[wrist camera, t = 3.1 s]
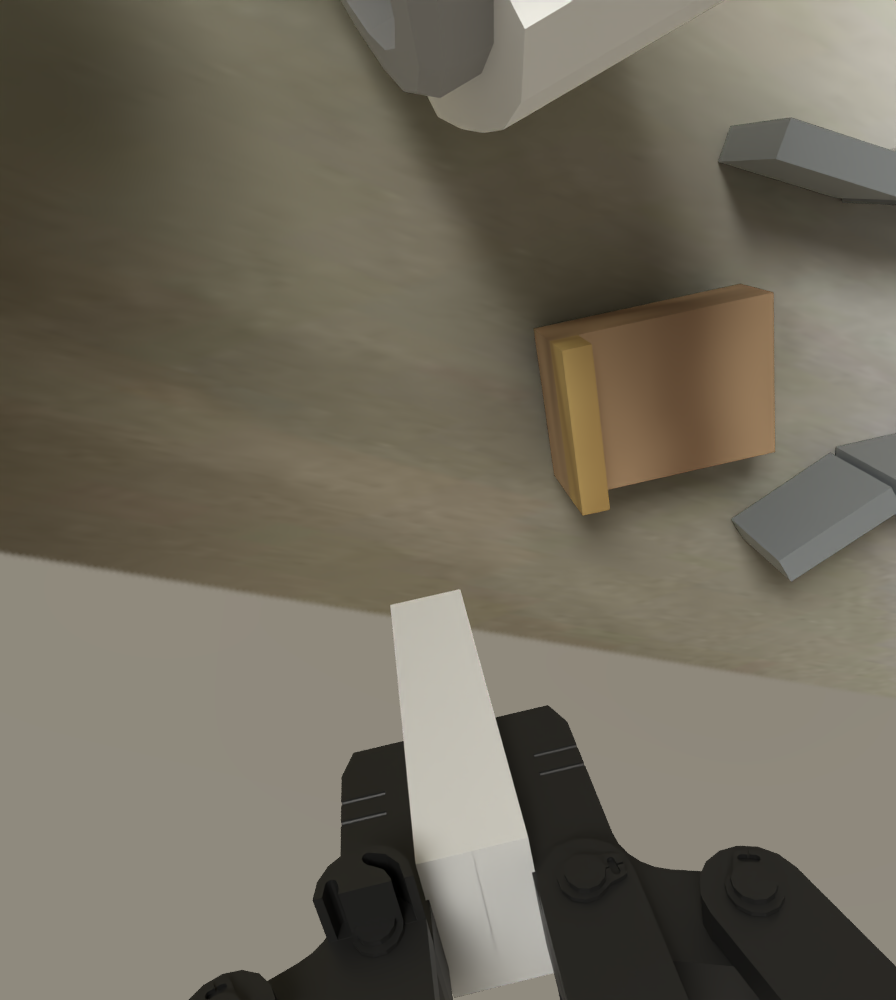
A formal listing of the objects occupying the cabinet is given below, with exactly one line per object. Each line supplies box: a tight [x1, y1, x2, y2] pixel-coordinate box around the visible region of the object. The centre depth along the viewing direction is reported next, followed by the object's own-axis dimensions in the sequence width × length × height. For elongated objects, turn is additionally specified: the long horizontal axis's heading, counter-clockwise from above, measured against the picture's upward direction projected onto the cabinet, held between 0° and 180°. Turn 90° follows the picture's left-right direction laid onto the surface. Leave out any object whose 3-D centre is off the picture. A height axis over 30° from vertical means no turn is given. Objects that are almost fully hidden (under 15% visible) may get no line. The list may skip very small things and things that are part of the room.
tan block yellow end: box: [534, 284, 775, 515], centre depth 28 cm, size 8×6×5 cm
